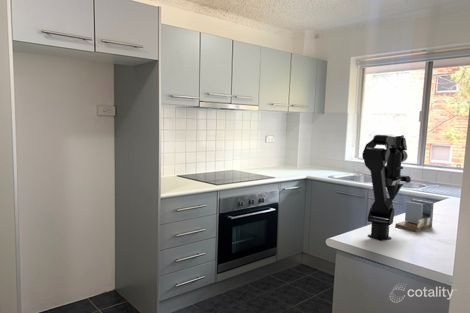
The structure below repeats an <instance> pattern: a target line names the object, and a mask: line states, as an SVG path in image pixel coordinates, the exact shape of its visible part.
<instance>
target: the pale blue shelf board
mask: <svg viewBox="0 0 470 313" xmlns="http://www.w3.org/2000/svg"><path fill="white" fill-rule="evenodd" d="M422 211H423V204H420V203H414V202H411V201H408V200H406V201H405V214H404V215H405V216H404V221H407V222H411V223H416V224H418V220H420V219H424V217H425V218H429V217H427V216H424V215H422Z"/></svg>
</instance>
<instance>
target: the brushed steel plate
mask: <svg viewBox="0 0 470 313" xmlns="http://www.w3.org/2000/svg"><path fill="white" fill-rule="evenodd" d="M410 202H414V203H420V204H423V211H422V215H424V216H427V217H430V224H432V225H433V218H434V217H433V216H434V202H433V201H427V200H421V199H417V198H416V199H415V198H412V199H411V201H410ZM424 218H425V217H424Z"/></svg>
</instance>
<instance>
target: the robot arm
mask: <svg viewBox="0 0 470 313" xmlns="http://www.w3.org/2000/svg"><path fill="white" fill-rule="evenodd" d="M376 146H385V147H384V148H381V147H376ZM407 151H408V146H407V140H406V137H405V136H404V134H375V135H374V136H373V139H372V140H370V141H369V142H367V143H366V144H365V145H364V148H363V151H362V154H361V155H362V156H361V157H362V160H363V162H364V166H365V167H366V168H367V169H368V170H369V171H370V176H371V178H370V179H371V183H372V184H371V185H372V189H373V190H372V191H373V199H374V200H373V202H372V204H371V206H370V209H369V212H368V215H367V222H370V223H371V227H370V228H371V229H370V230H371V232H370V234H367V236H368V237H370V238H372V239H376V240H378V241H385V240H391V239H392V236H389V235H390V226H391V225H392V224H393V223H394V217H395V208H394V204H393V201H394V199H395V198H396V196H397V195H398V193H399V192H400V190H401V189H402V187H403V186H404V183H401V182H405V183H411V182H412V181H411V179H412V178H411V177H410V176H409V175H407V174H405V175H404V174H402V173H401V172H402V170H403V169H404V166H402V163H403V162H405V161H407V159H408V158H409V157H408V156H409V155H408V153H407ZM387 193H388V194H387Z"/></svg>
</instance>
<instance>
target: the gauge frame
mask: <svg viewBox="0 0 470 313" xmlns="http://www.w3.org/2000/svg"><path fill="white" fill-rule="evenodd" d="M432 227H433V223H432V224H430V217H429V218H424V219H420V220H418V224H416V223H411V222H407V221H405V220H403V221H400V222H396V223H395V228H397V229H398V228H399V229H403V230H407V231H410V232H414V233H417V232H420V231H423V230H425V229H430V228H432Z"/></svg>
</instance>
